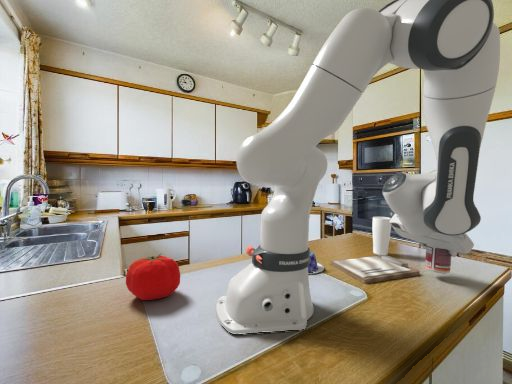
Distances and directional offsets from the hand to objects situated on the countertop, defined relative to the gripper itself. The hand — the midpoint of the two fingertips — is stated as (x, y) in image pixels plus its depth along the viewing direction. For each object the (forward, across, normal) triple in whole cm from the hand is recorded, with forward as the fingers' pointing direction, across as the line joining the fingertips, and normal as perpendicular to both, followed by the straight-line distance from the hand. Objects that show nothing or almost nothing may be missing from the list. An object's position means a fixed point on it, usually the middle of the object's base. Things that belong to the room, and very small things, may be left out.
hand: (439, 250), depth 72 cm
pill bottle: (+4, 0, +5) cm, 6 cm away
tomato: (-51, +14, +65) cm, 84 cm away
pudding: (-18, +19, +32) cm, 41 cm away
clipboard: (-4, +11, +16) cm, 20 cm away
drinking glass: (+8, +23, +5) cm, 25 cm away
